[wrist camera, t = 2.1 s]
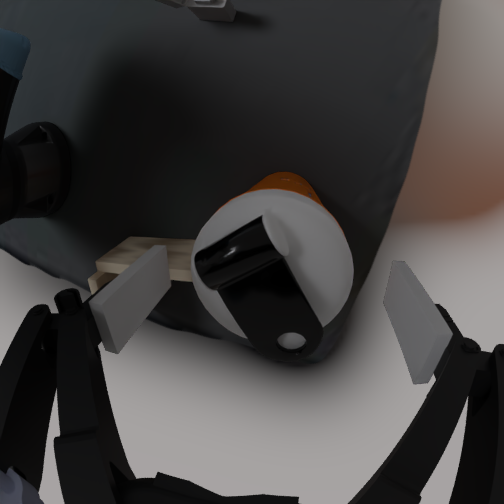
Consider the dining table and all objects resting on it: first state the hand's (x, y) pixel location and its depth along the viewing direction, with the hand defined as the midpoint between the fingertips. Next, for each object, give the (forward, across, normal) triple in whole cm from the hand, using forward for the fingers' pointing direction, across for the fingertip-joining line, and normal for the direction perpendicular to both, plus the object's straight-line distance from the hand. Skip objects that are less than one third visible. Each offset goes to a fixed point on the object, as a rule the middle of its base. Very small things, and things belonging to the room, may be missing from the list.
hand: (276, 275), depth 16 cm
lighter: (+16, -10, +23) cm, 30 cm away
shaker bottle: (+17, 0, 0) cm, 17 cm away
